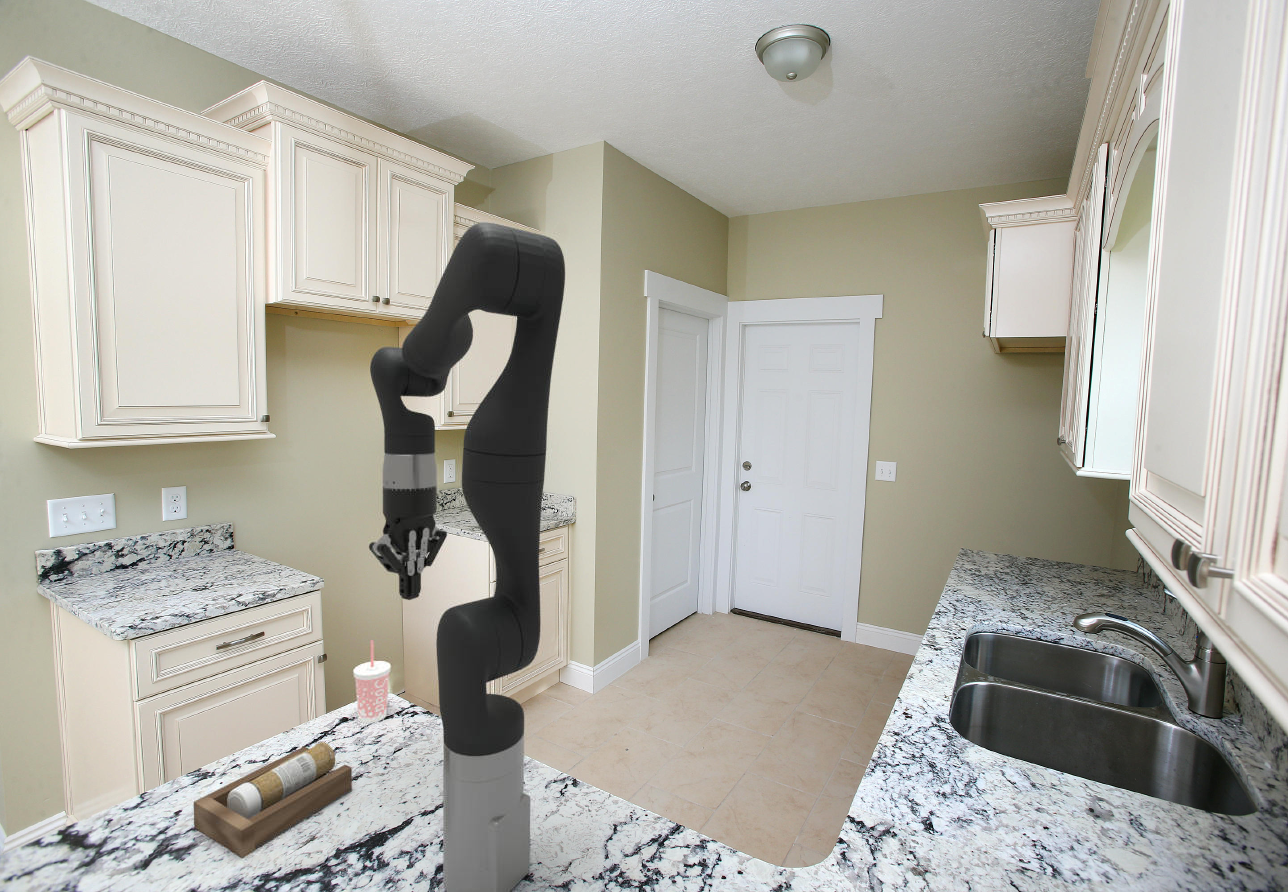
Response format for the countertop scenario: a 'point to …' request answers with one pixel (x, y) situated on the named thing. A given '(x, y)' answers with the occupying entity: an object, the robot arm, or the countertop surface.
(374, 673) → the beverage cup
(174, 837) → the countertop surface
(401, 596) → the robot arm
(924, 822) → the countertop surface
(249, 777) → the u rest
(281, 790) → the sprinkles bottle
